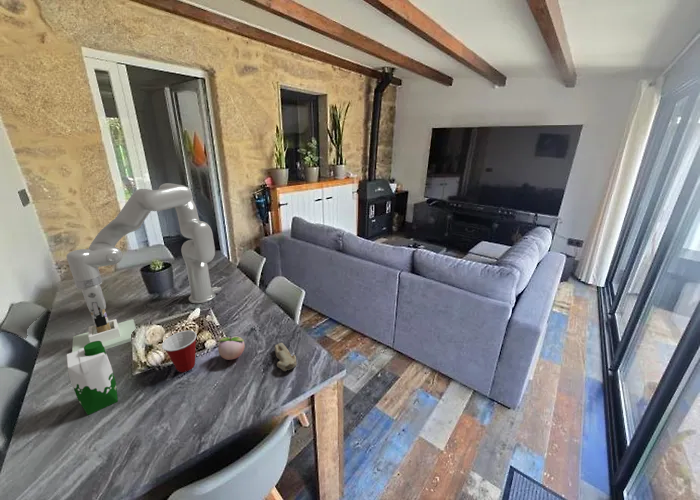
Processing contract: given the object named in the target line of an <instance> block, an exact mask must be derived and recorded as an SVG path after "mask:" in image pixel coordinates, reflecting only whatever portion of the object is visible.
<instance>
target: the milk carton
mask: <svg viewBox="0 0 700 500" xmlns="http://www.w3.org/2000/svg"><path fill="white" fill-rule="evenodd" d="M66 361H67V370H68V377H69V380H70V382H71V385H72V389H73V390H74V394H75V396H76V398H77V400H78V401H77V402H79V404H80V405H81V407H82V408H83V410H84V412H85V413H86V414H87V416H89V415H92V414H94V413H96V412H98V411H100V410H102V409H105V408H107V407H110V406H111V405H113V404H114V405H115V403H118V402H119V400H118V399H119V398H118V389H117V382H116V376H115V375H114V371H113V367H112V365H111V361H110V360H109V356H108V354H107V352H106V350H105V348H104V346H103V345H102V342H101V341H94V342H91V343H88V344H87V345H85V346H84V348H82V349H79V350H78V351H75V352H72V351H71V352H69V353H67V354H66Z"/></svg>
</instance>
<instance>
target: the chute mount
mask: <svg viewBox="0 0 700 500" xmlns="http://www.w3.org/2000/svg"><path fill="white" fill-rule="evenodd" d="M108 321H109V325H110V327H111V329H110V330H108V331H104V332H101V333H97V330H96V327H95V325H89V326H88V327H87V330H88V331H87V332H84V333H80V334H77V335H74V336H72V349H71V350H72V351H71V353H72V352H75V351H78V350H79V349H82V348H84V346H85V345H87V344H88V343H91V342H94V341H101V342H102V345H103V346H104V348H105V351H106V350H108V349H112V348H114V347H118V346H122V345H125V344H127V343H130V342H132V341H131V334H132V332H133V331H134V330H135V329H136V330H137V327H136V324H135V320H134V319H133V318H132V319H131V318H130V319H128V320H126V321H125V320H124V321H122V322H118V321H117V318H115V319H114V318H113V319H111V320H108Z"/></svg>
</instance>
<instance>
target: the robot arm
mask: <svg viewBox="0 0 700 500" xmlns="http://www.w3.org/2000/svg"><path fill="white" fill-rule="evenodd" d="M169 209H175V211H176V215H177V219H178V225H179V230H180V234H181V235H182V236H183V237H184V238H186V239H189V240H186V241H184V242H183V244H182V246H181V250H180V251H181V255H182V258H183V260H184V263H185V267H186V274H187V278H188V283H189V284H188V285H189V289H190V296H189V297H188V301H189V302H190V303H192V304H204V303H207V302H209V301H212V300H213V299H214V298H215V297H216V292H220V291H222V287H221V286H219V287H218V286H214V287H213V286H211V285H212V284H211V279H210V278H211V277H210V272H209V265H208V263H210V262H212V260H213V259H214V258H215V255H216V247H215V241H214V234H213V230H212V228H211V226H210V225H209V224H208V223H207V222H205V221H202V220H200V217H199V213H198V210H197V209H198V208H197V205H196V203H195V202H194V199H193V193H192V190H191V189H190V188H189V187H187V186H186V185H184V184H183V185H182V184H177V183H173V182H172V183H170V182H167V183H162V184H161V185H160V186H159V187H158V189H148V188H139V189H137V190H134V192H133V193H132V194H131V196H129V198H128V200H127V201H126V202H125V204H124V206H123V207H122V208H121V210H120V211H119V212H118V214H117V216H116V217H114V219H113V220H111V221H110V222H109V223H107V225H105V226H104V227H103V228H102V229H100V231H99V232H97V235H95V237H94V238H93V240H92V242H91V243H90V245H89V246H88V248H82V249H75V250H72V251H69V252H68V253H67V254H66V261H67V263H68V267H69V270H70V272H71V275H72V279H73V281H74V284H75V287H76V289H78V290H81V292H82V295H83V298H84V301H85V304H86V307H87V308H88V311H89V313H90V314H91V313H92V312H93V315H94V321H95V324H96V327H100V326H104V325H107V322H106V319H105V315H103V312H102V309H105V310H106V308H107V305H106V304H107V303H106V299H105V295H104V293H103V290H102V287H101V285H102V284H103V280H102V275H101V272H100V269H99V268H100V267H108V266H113V265H116V264H119V263H120V262H121V261H122V259H123V257H124V255H123V252H122V250H121V249H119V248H118V247H117V246H116V245H117V244H118V242H119V241H120V240H121V239H122V238H123V237H125V236H127V235H129V234H130V233H133V232H136V231H138V230H139V229H140V228H141V226H142V225H143V224H144V222H145V220H146V219H147V218H148V216H149V215H150V214H151V212H160V211H165V210H169ZM98 308H100V309H98ZM99 311H100V312H101V313H99Z"/></svg>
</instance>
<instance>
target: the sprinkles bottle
mask: <svg viewBox="0 0 700 500" xmlns="http://www.w3.org/2000/svg"><path fill="white" fill-rule="evenodd" d="M98 309H100V308H98ZM102 312H103V315H105V319H106V322H107V325H104V326H100V327H96V324H95V321H94V315H93V312H92V313H91V312H90V315H91V319H92V321H93V324H94V325H95V327H96V330H97V333H101V332H104V331H108V330H110V329H111V327H110V325H109V321H110V320H109V318H108V315H107V312H106V309H102ZM99 313H101V312H100V311H99Z"/></svg>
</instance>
